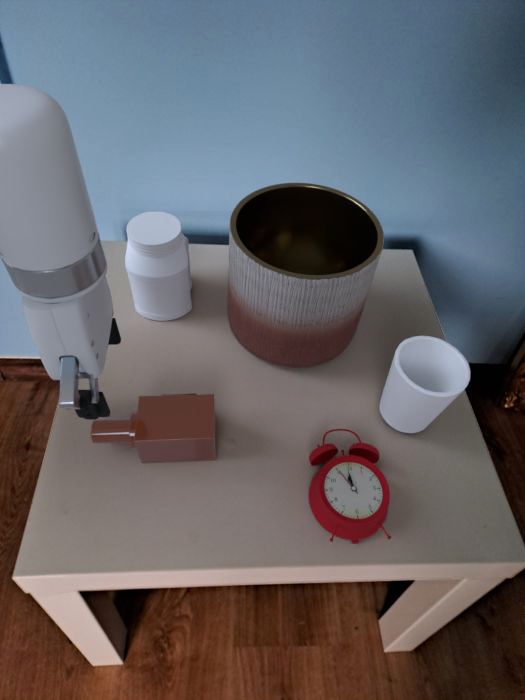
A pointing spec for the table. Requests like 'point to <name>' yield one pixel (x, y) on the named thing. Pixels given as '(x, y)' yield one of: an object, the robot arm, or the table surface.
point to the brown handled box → (165, 428)
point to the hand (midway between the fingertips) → (101, 376)
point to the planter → (300, 271)
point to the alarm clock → (349, 491)
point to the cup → (422, 383)
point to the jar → (158, 266)
